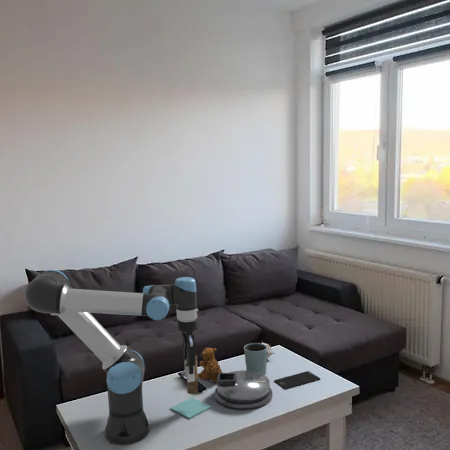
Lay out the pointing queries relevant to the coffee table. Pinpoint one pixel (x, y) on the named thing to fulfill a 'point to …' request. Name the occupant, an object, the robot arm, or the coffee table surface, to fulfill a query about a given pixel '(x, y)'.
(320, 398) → the coffee table surface
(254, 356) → the green cup
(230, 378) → the disc
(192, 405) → the key mat
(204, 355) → the brown teddy bear
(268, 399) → the base
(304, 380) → the cell phone
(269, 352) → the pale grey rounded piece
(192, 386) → the key peg
